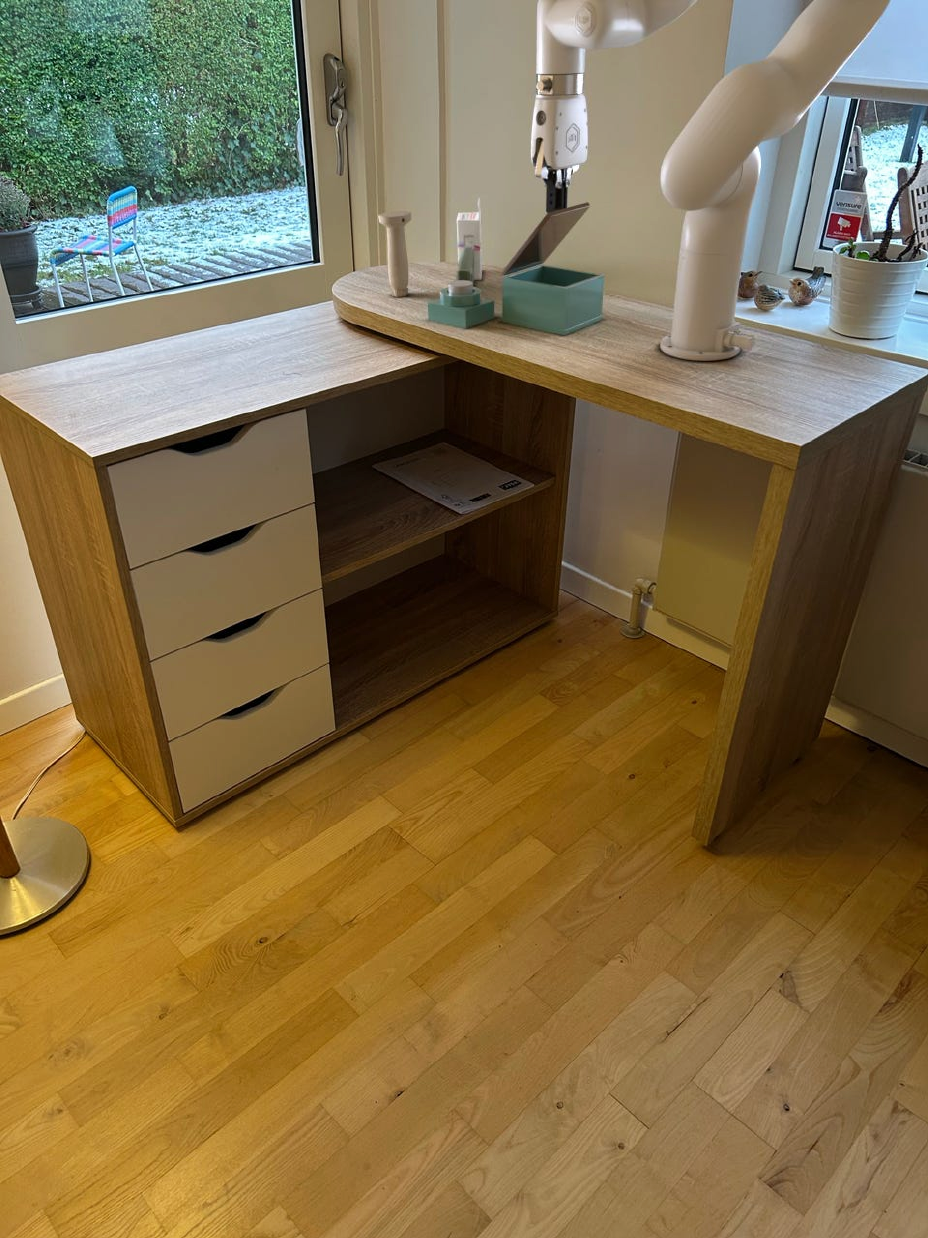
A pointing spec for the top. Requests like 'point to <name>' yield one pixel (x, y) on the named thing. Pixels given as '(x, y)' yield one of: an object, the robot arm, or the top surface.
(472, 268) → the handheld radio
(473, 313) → the flush button base
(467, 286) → the flush button
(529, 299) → the teal bin
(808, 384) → the top surface
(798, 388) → the top surface
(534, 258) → the brown rectangular panel
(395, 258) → the handle
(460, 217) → the ink cartridge box
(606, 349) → the top surface
